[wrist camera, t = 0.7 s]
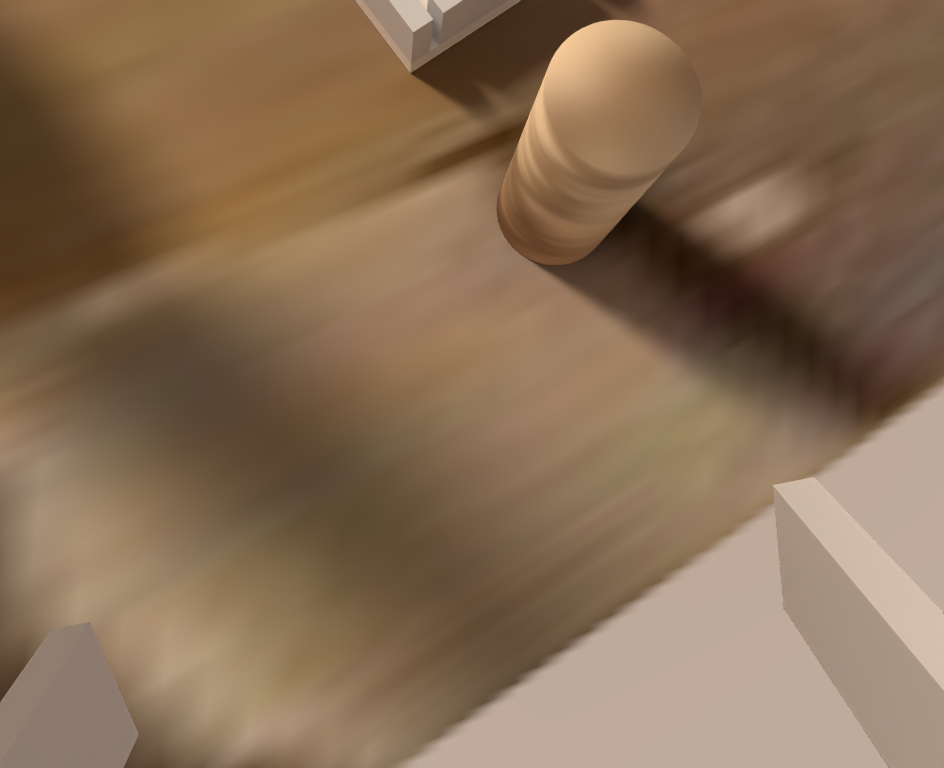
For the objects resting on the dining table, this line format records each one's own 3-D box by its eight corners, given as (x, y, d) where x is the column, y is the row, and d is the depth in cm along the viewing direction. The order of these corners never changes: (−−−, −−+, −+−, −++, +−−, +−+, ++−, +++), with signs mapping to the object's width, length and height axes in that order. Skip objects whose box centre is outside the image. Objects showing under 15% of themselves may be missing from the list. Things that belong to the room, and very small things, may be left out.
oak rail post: (473, 196, 44) (512, 74, 31) (562, 134, 45) (636, -9, 32) (543, 287, 43) (610, 203, 31) (631, 223, 44) (732, 115, 32)
